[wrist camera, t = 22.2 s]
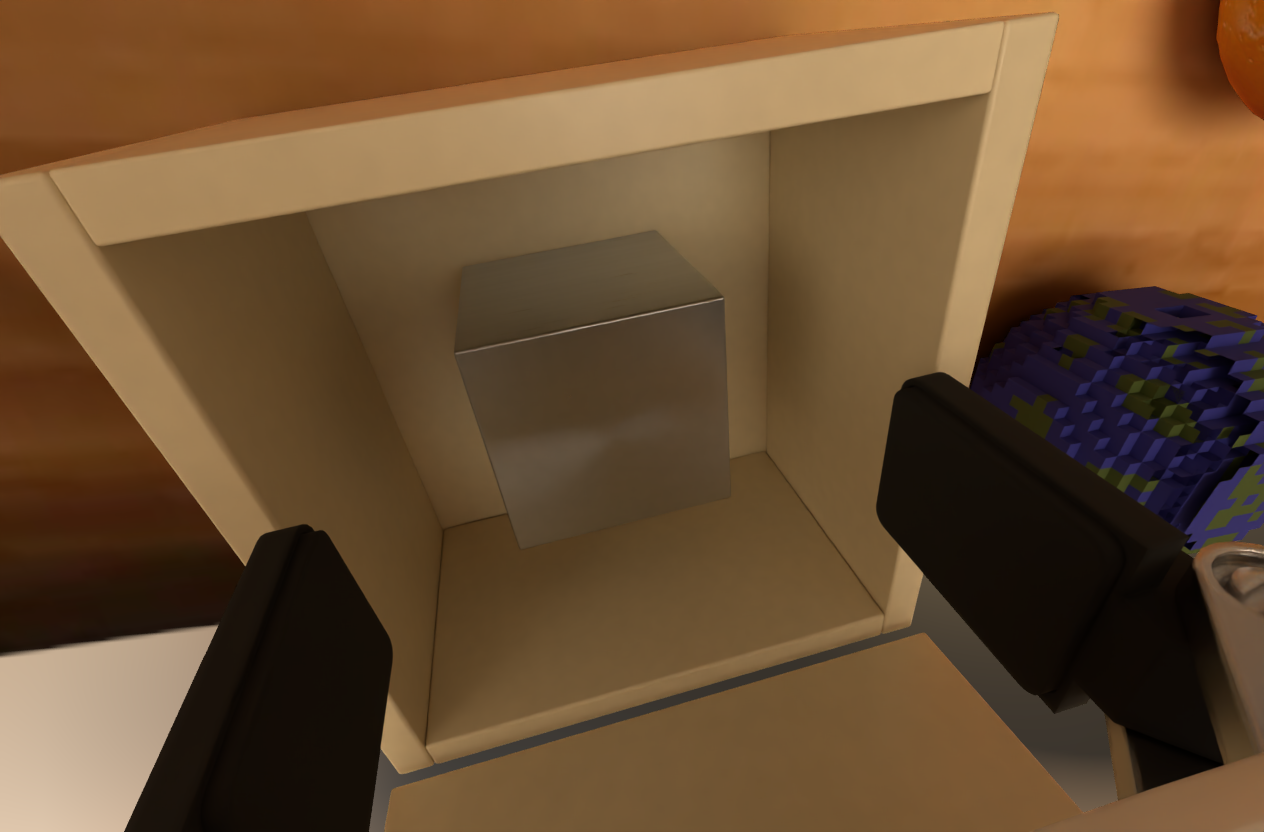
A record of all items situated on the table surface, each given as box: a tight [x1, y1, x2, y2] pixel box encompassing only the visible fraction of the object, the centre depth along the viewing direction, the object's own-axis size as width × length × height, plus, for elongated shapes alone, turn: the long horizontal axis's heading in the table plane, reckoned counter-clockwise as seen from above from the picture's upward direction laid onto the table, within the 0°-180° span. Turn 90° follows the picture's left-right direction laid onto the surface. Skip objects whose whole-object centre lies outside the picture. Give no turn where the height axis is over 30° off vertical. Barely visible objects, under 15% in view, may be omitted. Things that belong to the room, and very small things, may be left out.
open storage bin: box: [0, 12, 1059, 774], centre depth 13 cm, size 13×13×8 cm
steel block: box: [454, 230, 731, 550], centre depth 13 cm, size 5×5×5 cm
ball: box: [970, 286, 1264, 554], centre depth 18 cm, size 8×8×8 cm
